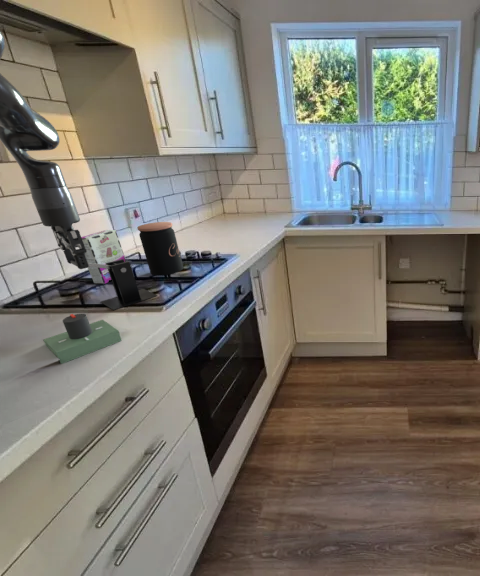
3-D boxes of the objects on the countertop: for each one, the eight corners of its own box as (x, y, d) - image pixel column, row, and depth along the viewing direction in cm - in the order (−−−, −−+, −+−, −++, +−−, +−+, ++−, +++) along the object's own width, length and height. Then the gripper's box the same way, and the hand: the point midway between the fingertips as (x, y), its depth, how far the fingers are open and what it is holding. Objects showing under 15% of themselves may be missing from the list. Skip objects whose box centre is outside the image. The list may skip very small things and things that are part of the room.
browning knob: (95, 333, 86) (88, 315, 85) (72, 341, 83) (65, 322, 81) (89, 328, 89) (82, 310, 87) (67, 335, 86) (59, 317, 84)
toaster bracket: (114, 313, 103) (99, 271, 98) (101, 305, 109) (86, 265, 104) (158, 298, 112) (147, 259, 107) (144, 291, 117) (132, 254, 112)
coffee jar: (180, 276, 130) (167, 227, 123) (147, 279, 128) (132, 229, 121) (187, 266, 140) (175, 220, 133) (156, 269, 137) (143, 223, 130)
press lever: (75, 268, 96) (77, 260, 96) (69, 265, 98) (71, 256, 98) (127, 274, 106) (129, 266, 106) (120, 271, 109) (122, 263, 108)
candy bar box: (119, 272, 135) (105, 229, 129) (130, 273, 135) (117, 229, 128) (92, 283, 125) (75, 237, 119) (104, 284, 124) (88, 238, 118)
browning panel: (61, 364, 80) (55, 352, 79) (47, 350, 86) (42, 338, 84) (121, 340, 89) (117, 329, 88) (106, 329, 94) (102, 318, 93)
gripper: (82, 205, 90) (104, 266, 97) (65, 200, 98) (86, 257, 105) (44, 210, 85) (69, 274, 91) (28, 205, 93) (53, 264, 99)
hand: (78, 265), depth 98 cm, fingers open, 8 cm apart
